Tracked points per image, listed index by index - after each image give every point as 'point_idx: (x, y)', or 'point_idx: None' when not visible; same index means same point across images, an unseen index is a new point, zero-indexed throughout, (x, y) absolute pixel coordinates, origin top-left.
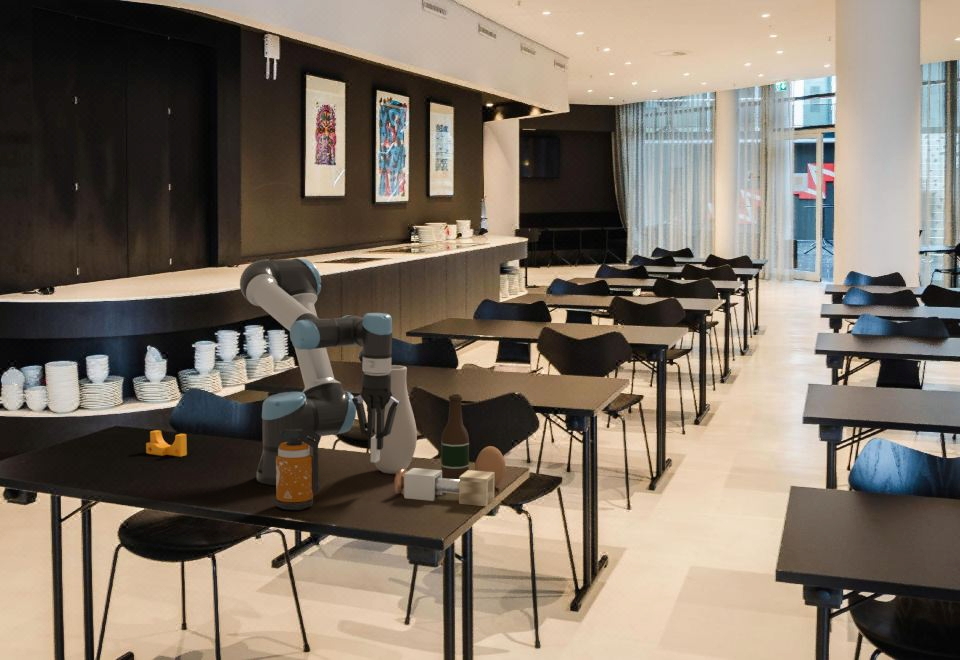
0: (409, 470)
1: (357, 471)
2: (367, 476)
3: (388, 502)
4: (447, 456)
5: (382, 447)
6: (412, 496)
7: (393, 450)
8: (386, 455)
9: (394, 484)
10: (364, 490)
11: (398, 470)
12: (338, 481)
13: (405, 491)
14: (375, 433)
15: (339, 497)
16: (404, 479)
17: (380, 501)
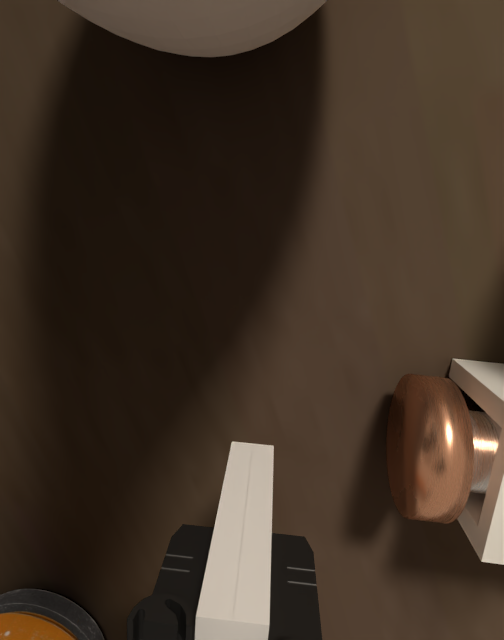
0: (502, 483)
1: (27, 15)
2: (126, 117)
3: (373, 537)
4: None
5: (309, 558)
6: None
7: (269, 25)
8: (211, 53)
9: (394, 500)
10: (211, 386)
11: (429, 504)
12: (30, 262)
13: None
14: (191, 627)
15: (149, 505)
16: (467, 534)
17: (335, 530)
